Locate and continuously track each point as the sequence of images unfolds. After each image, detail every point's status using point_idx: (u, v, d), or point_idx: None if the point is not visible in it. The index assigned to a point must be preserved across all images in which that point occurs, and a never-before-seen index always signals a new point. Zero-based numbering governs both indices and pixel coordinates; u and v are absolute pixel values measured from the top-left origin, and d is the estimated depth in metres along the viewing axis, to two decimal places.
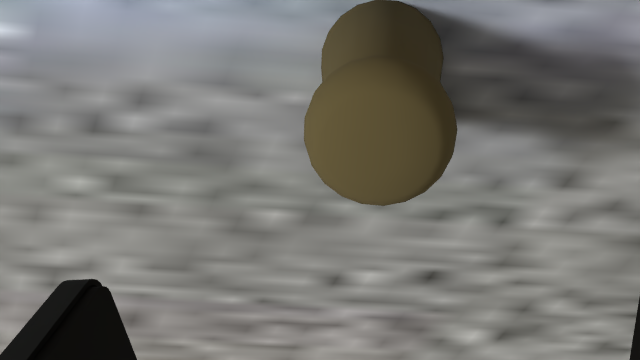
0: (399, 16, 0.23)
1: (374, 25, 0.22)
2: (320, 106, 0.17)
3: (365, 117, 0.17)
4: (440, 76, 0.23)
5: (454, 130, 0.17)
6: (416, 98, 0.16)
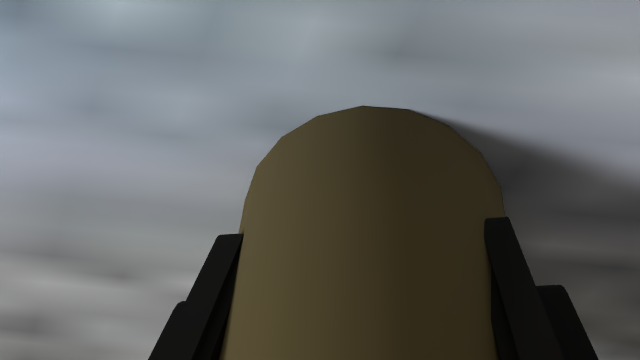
0: (415, 173, 0.09)
1: (349, 220, 0.08)
2: None
3: None
4: None
5: None
6: None
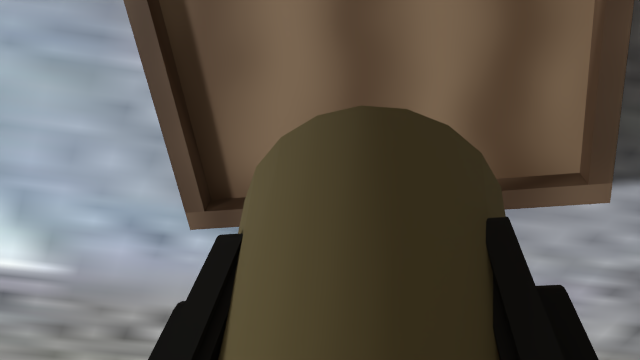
0: (415, 173, 0.09)
1: (349, 219, 0.08)
2: None
3: None
4: None
5: None
6: None
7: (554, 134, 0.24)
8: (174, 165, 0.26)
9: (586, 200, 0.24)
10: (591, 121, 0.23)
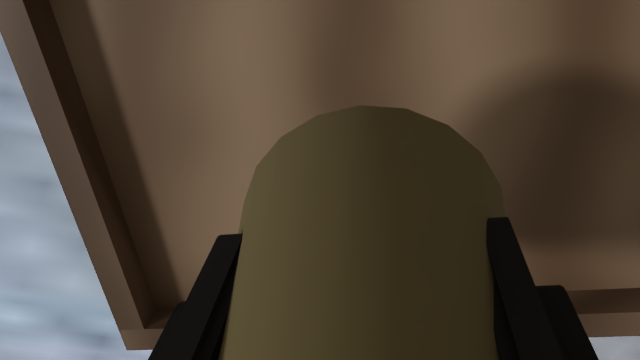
0: (415, 173, 0.09)
1: (349, 219, 0.08)
2: None
3: None
4: None
5: None
6: None
7: (625, 237, 0.17)
8: (99, 272, 0.19)
9: None
10: None
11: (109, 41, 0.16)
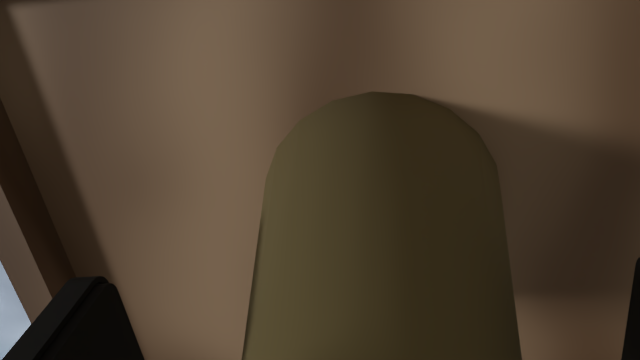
0: (421, 147, 0.11)
1: (365, 185, 0.09)
2: None
3: None
4: None
5: None
6: None
7: None
8: None
9: None
10: None
11: (44, 71, 0.13)
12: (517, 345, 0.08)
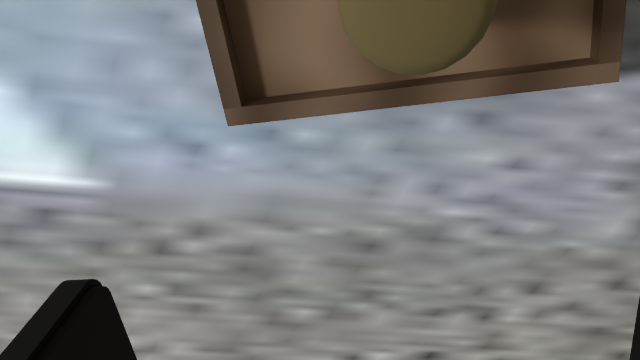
0: None
1: None
2: None
3: None
4: None
5: None
6: None
7: (566, 19, 0.26)
8: (214, 60, 0.28)
9: (596, 80, 0.26)
10: (600, 1, 0.25)
11: None
12: None
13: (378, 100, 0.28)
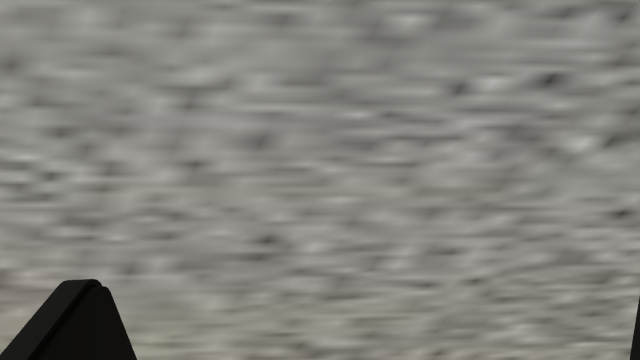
0: None
1: None
2: None
3: None
4: None
5: None
6: None
7: None
8: None
9: None
10: None
11: None
12: None
13: None
